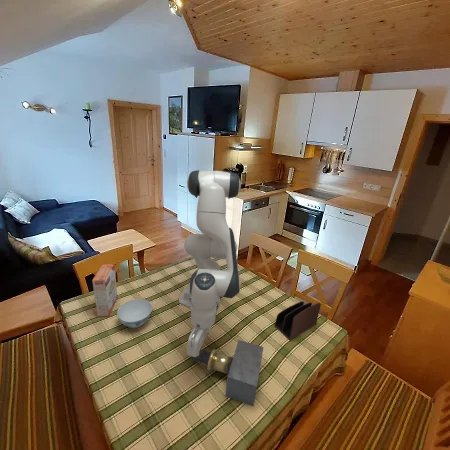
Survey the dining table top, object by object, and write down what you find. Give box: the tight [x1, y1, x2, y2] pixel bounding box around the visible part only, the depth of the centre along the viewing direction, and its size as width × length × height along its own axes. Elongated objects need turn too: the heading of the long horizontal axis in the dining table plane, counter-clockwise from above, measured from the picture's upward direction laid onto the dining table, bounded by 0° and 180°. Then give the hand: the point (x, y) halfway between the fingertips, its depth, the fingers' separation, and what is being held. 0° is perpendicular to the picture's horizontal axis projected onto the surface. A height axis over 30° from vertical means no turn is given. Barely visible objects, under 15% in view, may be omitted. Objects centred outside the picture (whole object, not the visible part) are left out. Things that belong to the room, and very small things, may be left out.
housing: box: [225, 339, 264, 407], centre depth 87 cm, size 10×16×10 cm, turn 164°
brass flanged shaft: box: [191, 348, 234, 375], centre depth 90 cm, size 15×7×7 cm, turn 74°
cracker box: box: [91, 263, 118, 318], centre depth 115 cm, size 14×6×21 cm, turn 8°
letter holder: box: [274, 300, 322, 341], centre depth 114 cm, size 10×20×14 cm, turn 124°
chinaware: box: [116, 298, 153, 329], centre depth 109 cm, size 15×15×8 cm
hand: (201, 343), depth 89 cm, fingers open, 8 cm apart
